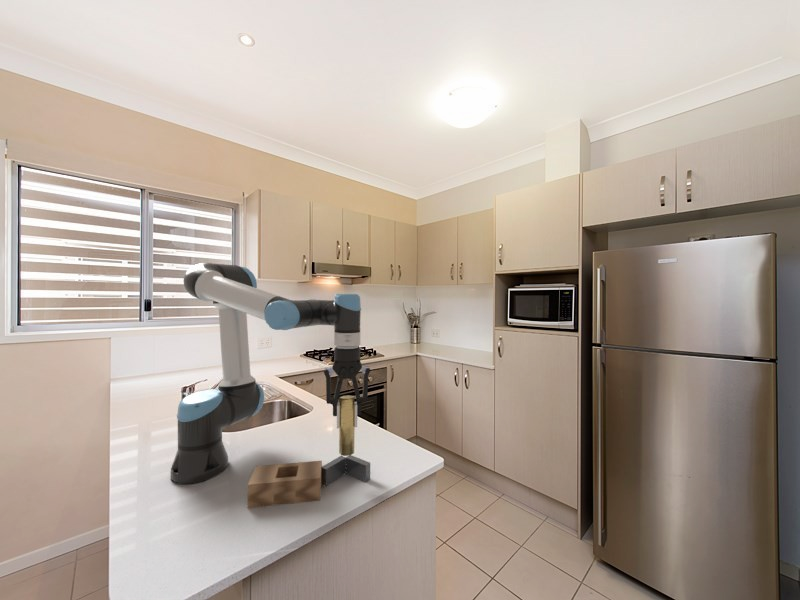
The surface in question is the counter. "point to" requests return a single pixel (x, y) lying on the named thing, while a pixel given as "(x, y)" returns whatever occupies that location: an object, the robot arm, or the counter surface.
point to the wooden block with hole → (285, 484)
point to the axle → (346, 425)
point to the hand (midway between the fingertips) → (346, 425)
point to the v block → (345, 469)
